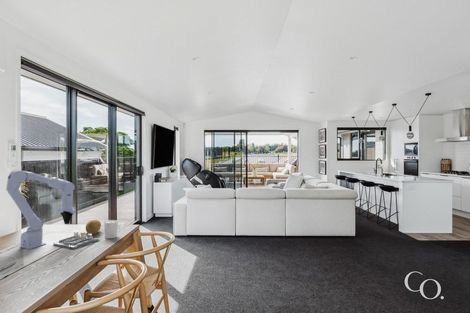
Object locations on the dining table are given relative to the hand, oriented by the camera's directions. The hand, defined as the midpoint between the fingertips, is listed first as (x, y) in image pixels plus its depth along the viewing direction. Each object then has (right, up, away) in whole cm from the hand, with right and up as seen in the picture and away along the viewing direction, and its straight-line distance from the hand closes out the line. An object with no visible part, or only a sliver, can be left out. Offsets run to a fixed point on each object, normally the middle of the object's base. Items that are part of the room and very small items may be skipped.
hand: (66, 223), depth 167 cm
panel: (+9, -10, -5) cm, 14 cm away
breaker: (+10, -9, -1) cm, 14 cm away
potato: (+9, -10, +14) cm, 20 cm away
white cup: (+23, -11, +8) cm, 27 cm away
